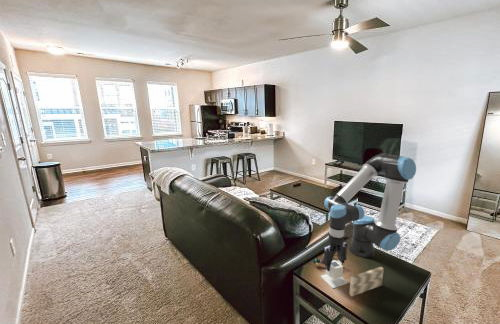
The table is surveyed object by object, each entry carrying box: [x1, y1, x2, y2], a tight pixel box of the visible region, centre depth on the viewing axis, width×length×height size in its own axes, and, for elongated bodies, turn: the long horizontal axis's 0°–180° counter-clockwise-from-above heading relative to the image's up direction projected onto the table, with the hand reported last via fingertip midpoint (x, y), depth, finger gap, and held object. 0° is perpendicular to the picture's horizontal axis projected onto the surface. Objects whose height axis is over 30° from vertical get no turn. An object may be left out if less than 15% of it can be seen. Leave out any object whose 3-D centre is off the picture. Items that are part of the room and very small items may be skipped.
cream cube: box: [325, 259, 344, 279], centre depth 125 cm, size 6×6×6 cm
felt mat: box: [320, 273, 349, 289], centre depth 127 cm, size 10×10×1 cm
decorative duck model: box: [312, 253, 339, 267], centre depth 141 cm, size 15×8×15 cm
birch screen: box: [349, 266, 385, 297], centre depth 118 cm, size 20×2×10 cm, turn 111°
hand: (333, 273), depth 126 cm, fingers closed on cream cube, 6 cm apart
